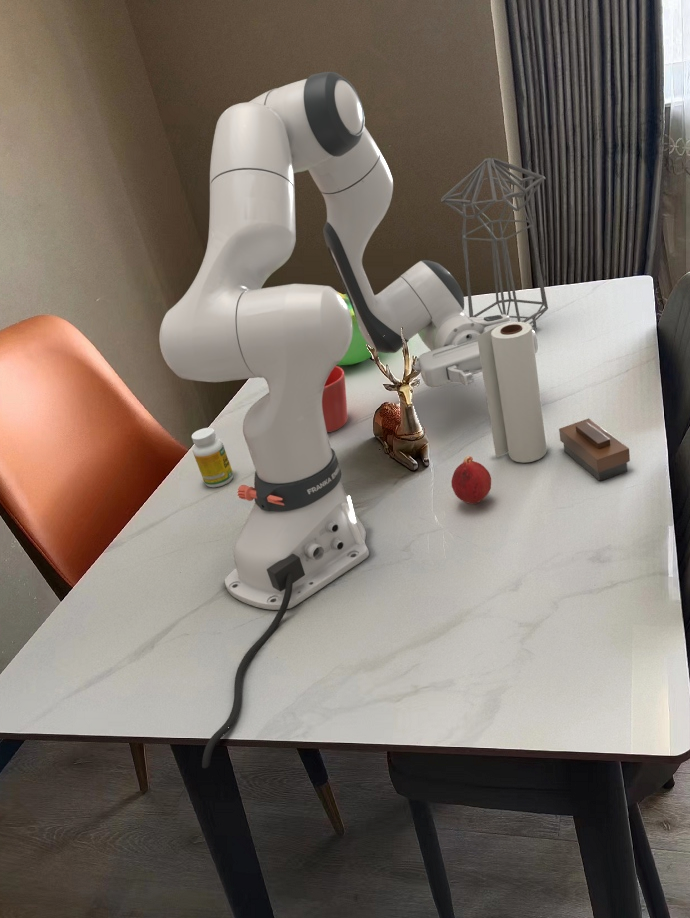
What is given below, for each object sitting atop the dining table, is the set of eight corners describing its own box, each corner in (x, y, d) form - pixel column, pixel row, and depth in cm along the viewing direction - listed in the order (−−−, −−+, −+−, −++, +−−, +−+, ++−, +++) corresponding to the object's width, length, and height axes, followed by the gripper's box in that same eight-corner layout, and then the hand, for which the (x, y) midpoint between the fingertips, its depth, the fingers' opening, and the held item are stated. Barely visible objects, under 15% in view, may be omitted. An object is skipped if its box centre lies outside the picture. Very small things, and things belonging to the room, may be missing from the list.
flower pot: (331, 441, 156) (318, 393, 151) (288, 433, 163) (274, 387, 157) (366, 414, 162) (355, 367, 157) (324, 408, 169) (311, 362, 164)
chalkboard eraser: (561, 450, 136) (558, 422, 134) (590, 440, 137) (588, 412, 134) (599, 483, 127) (596, 453, 124) (630, 471, 127) (628, 442, 125)
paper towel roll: (554, 448, 137) (540, 322, 126) (532, 467, 134) (515, 339, 123) (517, 440, 142) (500, 317, 130) (495, 457, 139) (476, 333, 127)
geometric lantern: (460, 345, 181) (430, 172, 162) (505, 316, 189) (482, 148, 170) (520, 354, 170) (496, 170, 151) (565, 323, 178) (548, 145, 159)
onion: (483, 516, 126) (475, 470, 121) (449, 511, 129) (440, 465, 124) (500, 495, 129) (493, 449, 125) (467, 490, 132) (458, 445, 128)
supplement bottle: (204, 477, 155) (187, 431, 150) (233, 469, 155) (216, 422, 150) (205, 491, 150) (187, 443, 145) (235, 482, 151) (218, 435, 146)
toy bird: (353, 339, 196) (337, 277, 188) (413, 344, 187) (399, 278, 179) (303, 374, 186) (285, 309, 178) (364, 381, 176) (347, 312, 168)
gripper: (404, 346, 146) (432, 372, 135) (514, 310, 149) (550, 333, 138) (411, 380, 150) (439, 408, 138) (518, 344, 153) (554, 369, 141)
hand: (495, 370), depth 138 cm, fingers open, 8 cm apart
